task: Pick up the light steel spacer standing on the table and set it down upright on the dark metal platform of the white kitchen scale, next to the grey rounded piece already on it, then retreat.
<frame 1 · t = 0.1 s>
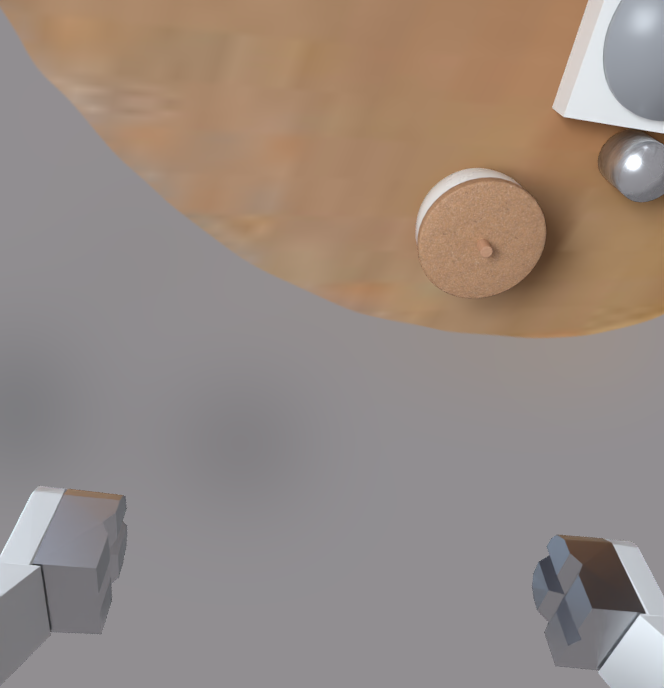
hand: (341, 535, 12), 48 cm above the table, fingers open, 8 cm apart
lidded jar: (463, 208, 59), on the table
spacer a: (624, 156, 57), on the table
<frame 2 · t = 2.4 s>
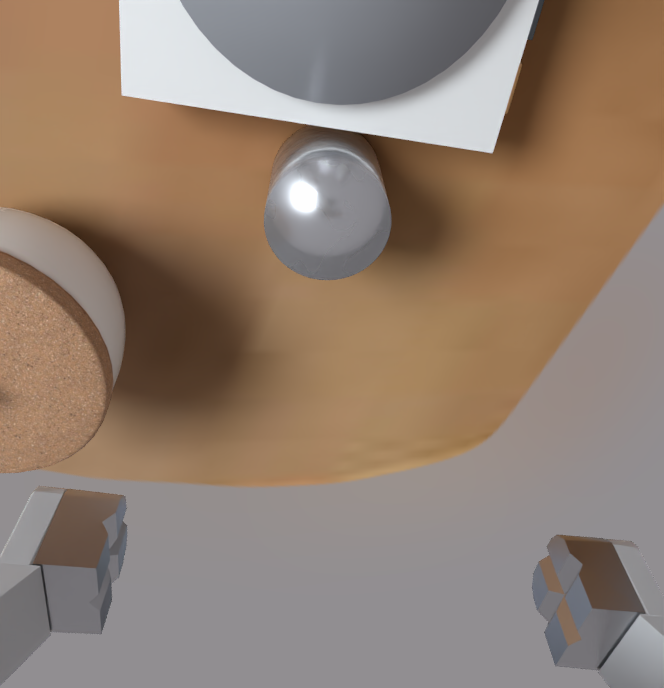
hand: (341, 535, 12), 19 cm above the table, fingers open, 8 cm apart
lidded jar: (39, 276, 30), on the table
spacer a: (326, 178, 28), on the table
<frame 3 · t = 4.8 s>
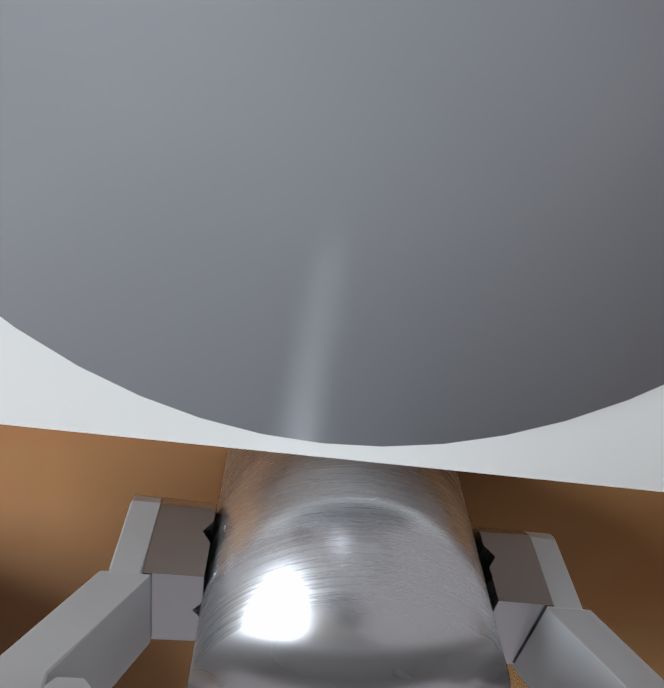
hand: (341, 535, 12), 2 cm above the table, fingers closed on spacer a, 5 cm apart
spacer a: (339, 463, 14), on the table, touching gripper
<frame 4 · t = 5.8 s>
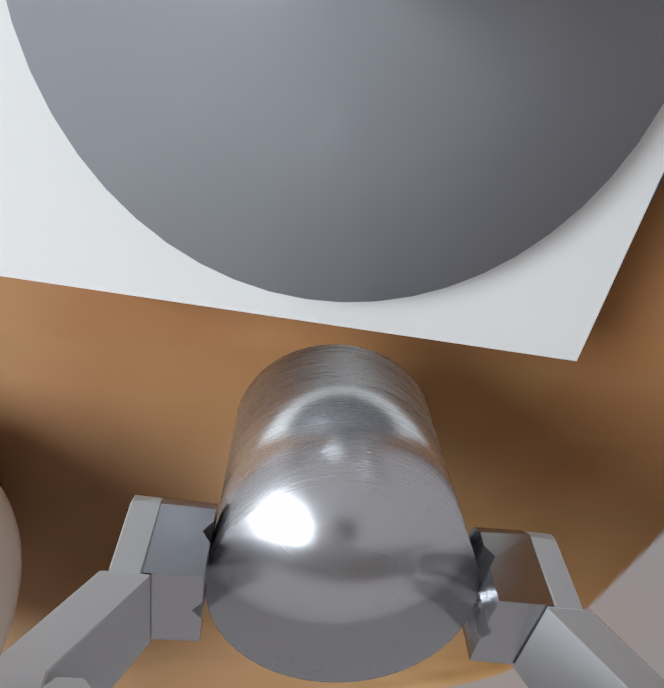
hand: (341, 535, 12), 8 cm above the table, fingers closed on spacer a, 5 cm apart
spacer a: (333, 431, 16), point 4 cm above the table, tilted 5°, touching gripper
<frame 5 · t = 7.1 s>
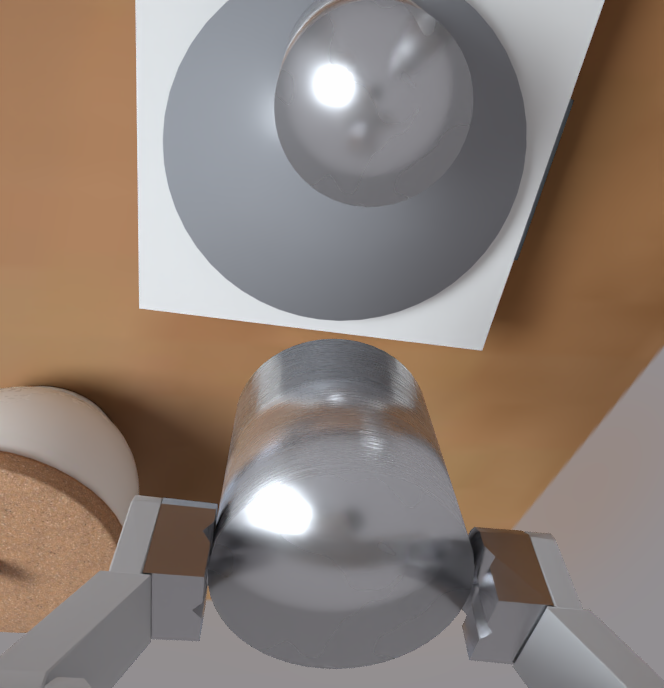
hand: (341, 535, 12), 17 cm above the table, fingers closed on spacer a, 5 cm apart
grey rounded piece: (361, 72, 19), point 4 cm above the table, touching kitchen scale
lidded jar: (57, 430, 32), on the table
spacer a: (331, 424, 16), point 12 cm above the table, tilted 7°, touching gripper
kitchen scale: (341, 135, 24), on the table
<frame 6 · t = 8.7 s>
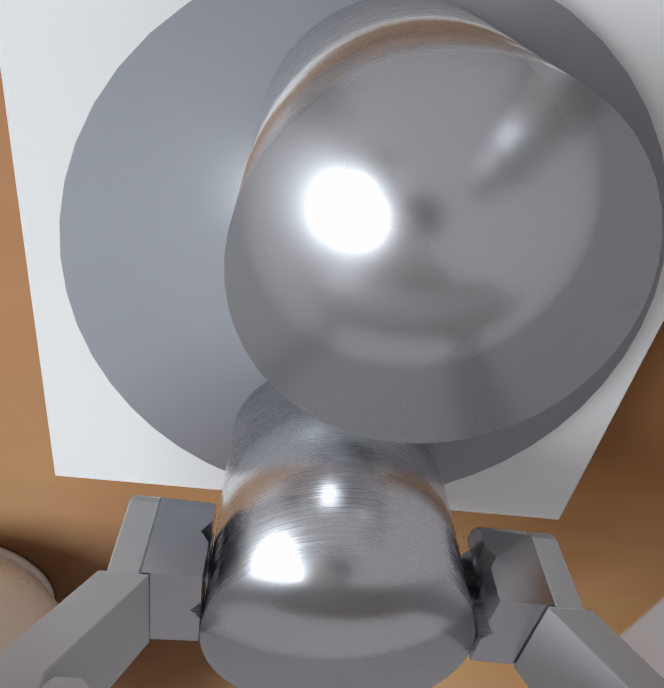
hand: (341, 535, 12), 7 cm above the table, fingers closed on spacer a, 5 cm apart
grey rounded piece: (394, 148, 11), point 4 cm above the table, touching kitchen scale
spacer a: (332, 443, 15), point 4 cm above the table, touching gripper, kitchen scale
kitchen scale: (354, 219, 16), on the table
when the fingers open (6 cm above the table, at t = 9.7 s): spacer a stays where it is, resting on kitchen scale.
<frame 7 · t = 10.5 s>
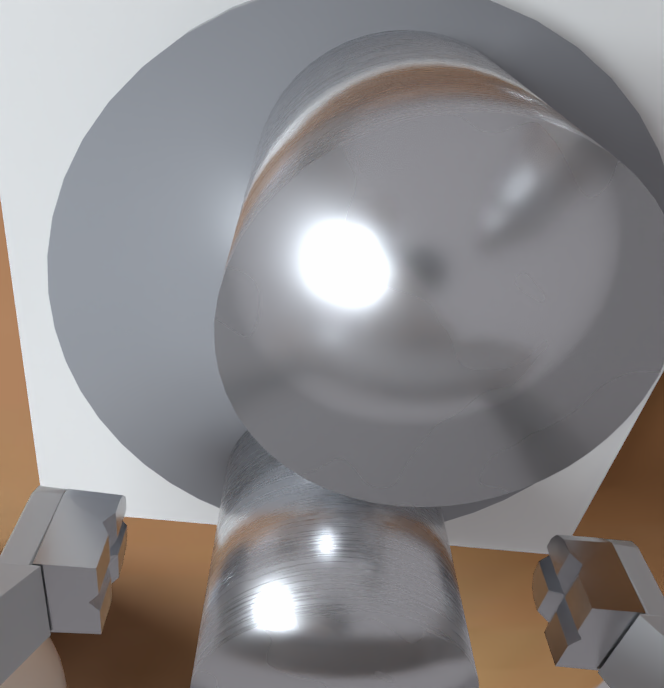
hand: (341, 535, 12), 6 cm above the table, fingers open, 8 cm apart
grey rounded piece: (395, 185, 11), point 4 cm above the table, touching kitchen scale
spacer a: (329, 480, 15), point 4 cm above the table, touching kitchen scale
kitchen scale: (353, 249, 16), on the table
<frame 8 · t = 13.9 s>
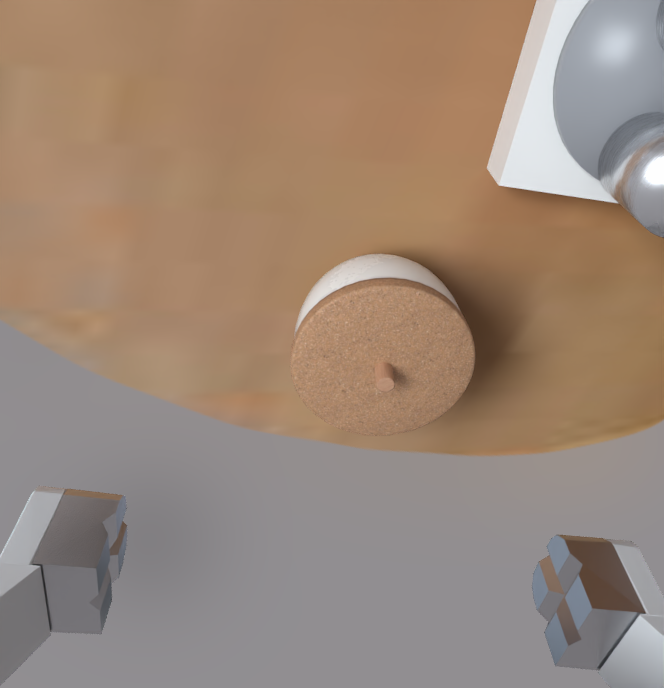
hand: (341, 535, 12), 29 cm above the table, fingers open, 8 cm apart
lidded jar: (372, 299, 43), on the table
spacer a: (643, 158, 34), point 4 cm above the table, touching kitchen scale
kitchen scale: (645, 62, 35), on the table
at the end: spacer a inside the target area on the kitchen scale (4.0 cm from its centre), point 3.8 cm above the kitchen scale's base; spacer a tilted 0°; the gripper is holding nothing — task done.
